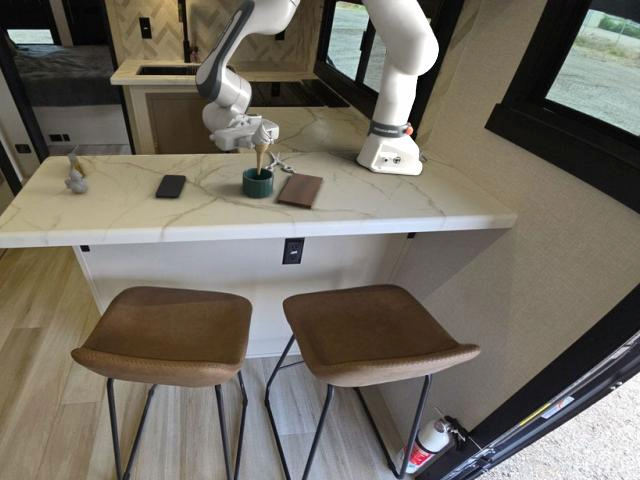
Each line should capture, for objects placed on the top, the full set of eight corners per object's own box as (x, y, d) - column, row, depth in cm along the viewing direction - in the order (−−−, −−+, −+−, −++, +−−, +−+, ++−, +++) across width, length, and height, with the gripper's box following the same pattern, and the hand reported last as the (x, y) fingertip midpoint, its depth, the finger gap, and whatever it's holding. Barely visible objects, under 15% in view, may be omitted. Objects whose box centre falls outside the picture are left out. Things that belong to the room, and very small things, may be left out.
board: (322, 180, 112) (323, 177, 112) (310, 209, 99) (311, 205, 98) (293, 176, 115) (293, 172, 114) (277, 203, 101) (278, 199, 100)
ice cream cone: (246, 172, 104) (248, 119, 93) (263, 169, 105) (266, 117, 95) (254, 179, 100) (256, 125, 89) (271, 176, 102) (275, 123, 91)
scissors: (265, 171, 115) (260, 149, 129) (265, 174, 115) (260, 151, 129) (296, 171, 115) (288, 149, 129) (296, 174, 116) (288, 151, 130)
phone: (186, 175, 112) (178, 196, 101) (186, 177, 112) (179, 199, 101) (164, 174, 112) (154, 195, 101) (164, 176, 112) (154, 198, 101)
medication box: (71, 165, 118) (66, 153, 115) (79, 163, 118) (74, 151, 116) (76, 178, 110) (71, 166, 107) (85, 175, 111) (80, 164, 108)
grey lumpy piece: (87, 196, 102) (78, 170, 96) (65, 196, 102) (55, 170, 96) (92, 187, 106) (84, 162, 100) (70, 187, 106) (61, 162, 100)
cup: (275, 187, 108) (277, 170, 105) (267, 200, 102) (268, 183, 98) (247, 182, 111) (248, 165, 107) (237, 195, 104) (238, 177, 100)
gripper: (205, 124, 97) (231, 139, 89) (263, 113, 106) (291, 125, 97) (207, 146, 102) (231, 163, 94) (261, 134, 110) (288, 148, 102)
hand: (262, 143), depth 96 cm, fingers closed on ice cream cone, 5 cm apart
